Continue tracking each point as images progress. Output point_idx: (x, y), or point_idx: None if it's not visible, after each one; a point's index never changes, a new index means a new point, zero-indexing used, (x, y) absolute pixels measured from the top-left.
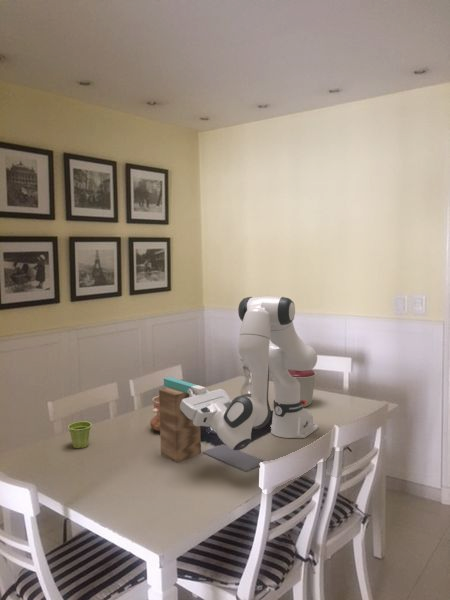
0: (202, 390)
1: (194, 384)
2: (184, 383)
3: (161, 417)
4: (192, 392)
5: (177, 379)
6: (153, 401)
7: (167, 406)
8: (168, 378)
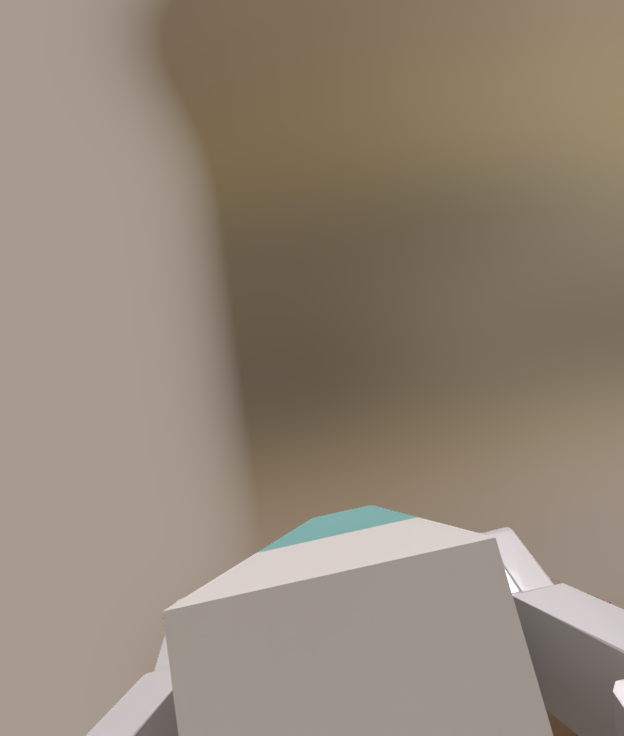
0: (326, 669)
1: (399, 516)
2: (326, 525)
3: None
4: (151, 707)
5: (374, 507)
6: None
7: None
8: (339, 512)
